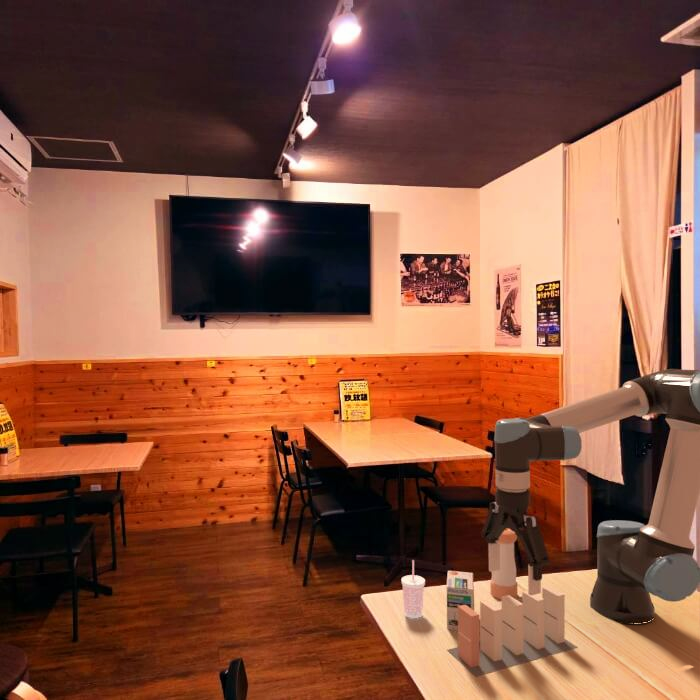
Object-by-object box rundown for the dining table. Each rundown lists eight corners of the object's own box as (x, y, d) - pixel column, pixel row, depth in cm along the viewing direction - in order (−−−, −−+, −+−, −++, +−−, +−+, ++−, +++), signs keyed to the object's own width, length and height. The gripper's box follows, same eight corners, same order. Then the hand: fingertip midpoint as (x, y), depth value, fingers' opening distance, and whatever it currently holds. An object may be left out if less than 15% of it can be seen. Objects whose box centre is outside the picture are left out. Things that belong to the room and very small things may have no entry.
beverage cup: (398, 617, 141) (398, 563, 141) (405, 607, 147) (405, 554, 147) (421, 622, 139) (421, 566, 139) (427, 611, 145) (427, 558, 144)
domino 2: (487, 647, 126) (487, 599, 126) (501, 659, 121) (502, 609, 121) (480, 649, 125) (480, 601, 125) (494, 661, 120) (494, 611, 120)
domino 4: (548, 631, 133) (549, 585, 133) (564, 641, 128) (564, 594, 128) (542, 633, 132) (542, 587, 132) (557, 643, 128) (557, 596, 128)
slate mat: (543, 627, 136) (543, 625, 136) (577, 649, 126) (577, 647, 126) (446, 652, 125) (446, 649, 125) (476, 679, 115) (476, 676, 115)
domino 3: (529, 636, 131) (529, 590, 131) (544, 647, 126) (544, 599, 126) (522, 638, 130) (522, 591, 130) (537, 649, 125) (537, 600, 125)
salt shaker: (519, 591, 156) (519, 523, 156) (515, 602, 150) (515, 531, 149) (493, 586, 159) (493, 520, 159) (488, 597, 153) (488, 528, 152)
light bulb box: (474, 634, 133) (474, 589, 133) (446, 631, 134) (446, 587, 134) (473, 613, 144) (473, 571, 144) (447, 610, 145) (447, 569, 145)
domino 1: (465, 653, 124) (465, 604, 123) (479, 665, 119) (479, 614, 119) (457, 655, 123) (457, 606, 123) (471, 667, 118) (471, 616, 118)
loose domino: (508, 642, 128) (508, 594, 128) (523, 653, 124) (523, 604, 124) (501, 644, 127) (501, 596, 127) (516, 655, 123) (516, 605, 123)
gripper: (466, 478, 135) (467, 564, 135) (538, 504, 112) (539, 608, 113) (491, 474, 138) (492, 559, 138) (566, 499, 115) (567, 601, 116)
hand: (513, 581), depth 126 cm, fingers open, 13 cm apart
